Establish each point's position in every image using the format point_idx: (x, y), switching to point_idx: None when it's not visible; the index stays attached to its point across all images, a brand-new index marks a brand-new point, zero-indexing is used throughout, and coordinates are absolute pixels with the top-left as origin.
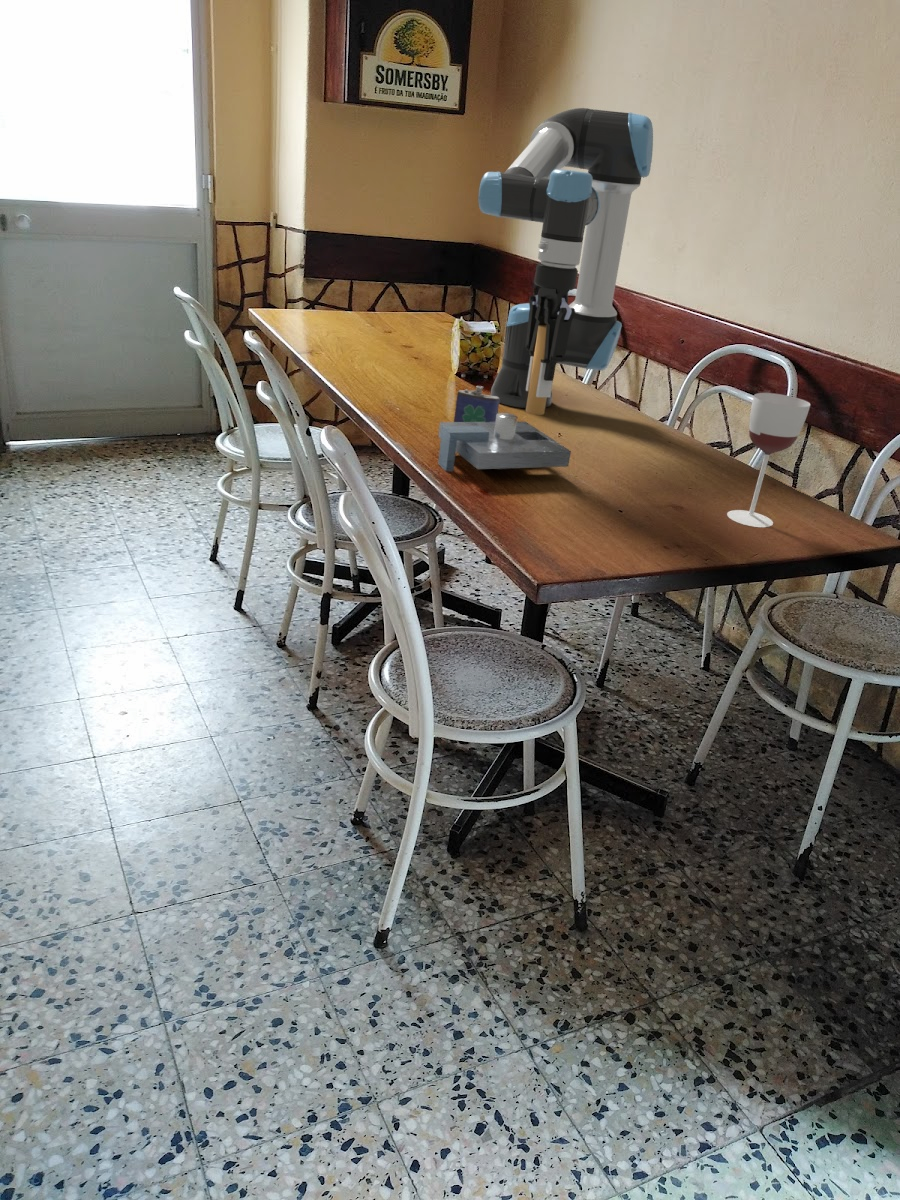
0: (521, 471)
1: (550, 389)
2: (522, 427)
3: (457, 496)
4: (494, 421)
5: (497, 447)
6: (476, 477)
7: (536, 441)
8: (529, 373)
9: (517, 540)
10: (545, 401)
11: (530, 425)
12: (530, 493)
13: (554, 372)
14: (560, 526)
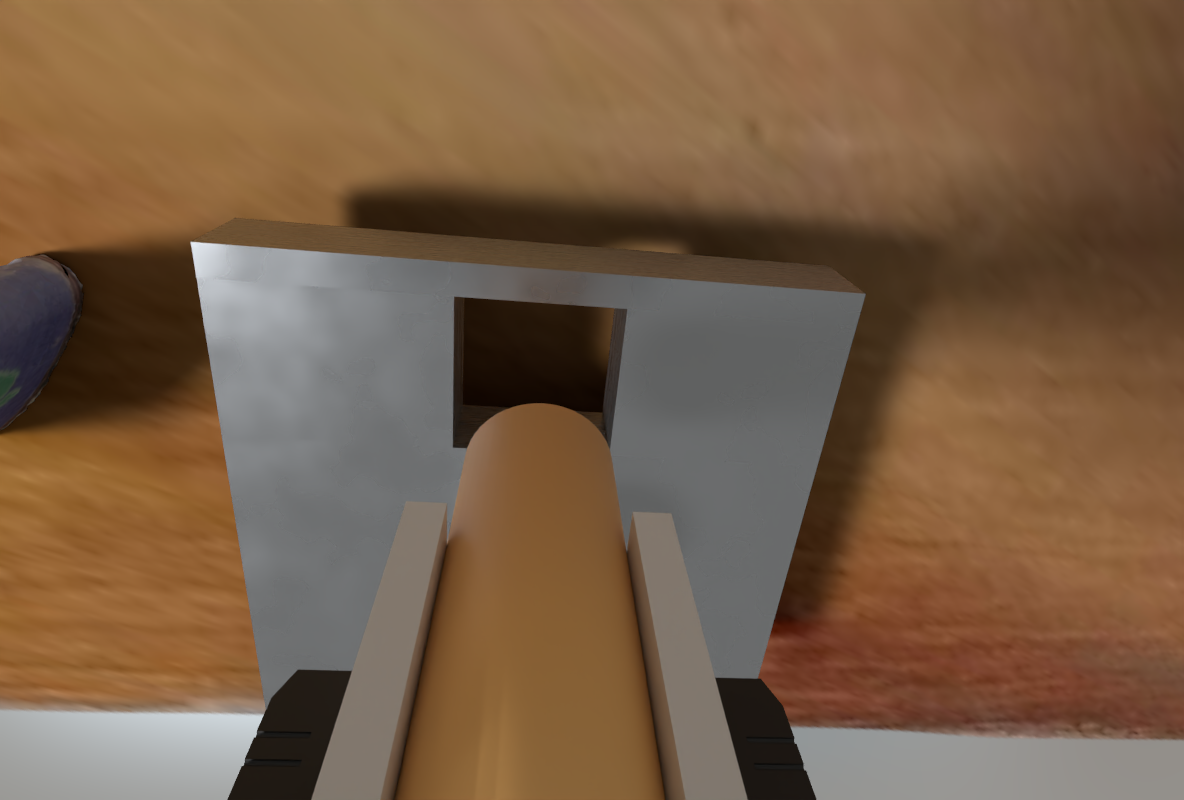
0: None
1: (681, 574)
2: (348, 344)
3: (787, 708)
4: (2, 319)
5: None
6: None
7: (644, 407)
8: None
9: (1140, 689)
10: (608, 489)
11: (295, 257)
12: (859, 482)
13: (804, 774)
14: (1151, 535)
